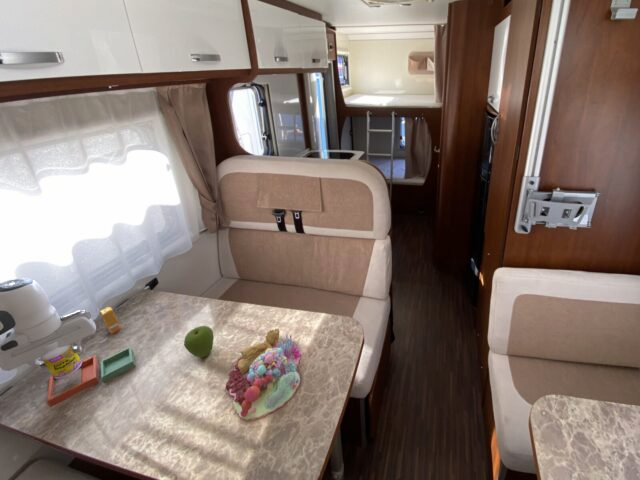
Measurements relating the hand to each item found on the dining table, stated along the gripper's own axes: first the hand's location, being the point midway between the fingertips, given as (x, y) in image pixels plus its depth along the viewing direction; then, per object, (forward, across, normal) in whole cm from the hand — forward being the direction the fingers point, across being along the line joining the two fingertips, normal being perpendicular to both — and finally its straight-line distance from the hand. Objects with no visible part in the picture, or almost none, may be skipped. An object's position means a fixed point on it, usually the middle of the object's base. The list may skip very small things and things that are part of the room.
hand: (61, 358), depth 95 cm
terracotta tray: (+11, 0, 0) cm, 11 cm away
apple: (+11, -34, +19) cm, 40 cm away
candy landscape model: (+11, -47, +43) cm, 65 cm away
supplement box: (+11, -11, -19) cm, 25 cm away
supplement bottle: (+5, 0, 0) cm, 5 cm away
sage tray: (+11, -11, +3) cm, 16 cm away
